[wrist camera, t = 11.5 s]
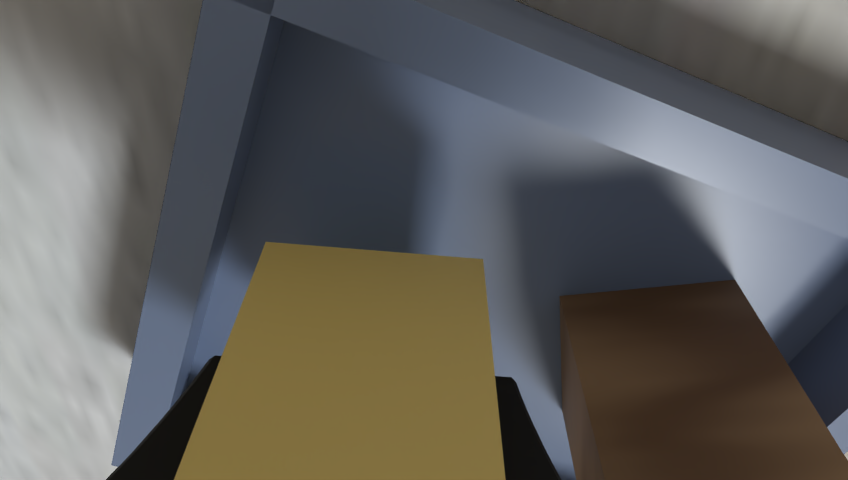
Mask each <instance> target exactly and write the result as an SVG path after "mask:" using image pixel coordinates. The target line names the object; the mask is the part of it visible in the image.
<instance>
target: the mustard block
mask: <svg viewBox="0 0 848 480" xmlns="http://www.w3.org/2000/svg"><path fill="white" fill-rule="evenodd" d="M174 480H506V479H505V469H504V459H503V450H502V440H501V430H500V420H499V410H498V401H497V391H496V381H495V371H494V361H493V352H492V342H491V332H490V322H489V312H488V302H487V293H486V283H485V273H484V263H483V259H476V258H463V257H451V256H438V255H426V254H413V253H401V252H388V251H375V250H363V249H350V248H338V247H325V246H313V245H300V244H288V243H275V242H265V245H264V248H263V250H262V253H261V255H260V258H259V261H258V263H257V266H256V268H255V271H254V273H253V276H252V279H251V281H250V284H249V286H248V289H247V292H246V294H245V297H244V299H243V302H242V305H241V307H240V310H239V312H238V315H237V318H236V320H235V323H234V325H233V328H232V330H231V333H230V336H229V338H228V341H227V343H226V346H225V349H224V351H223V354H222V356H221V359H220V362H219V364H218V367H217V369H216V372H215V375H214V377H213V380H212V382H211V385H210V387H209V390H208V393H207V395H206V398H205V400H204V403H203V406H202V408H201V411H200V413H199V416H198V419H197V421H196V424H195V426H194V429H193V432H192V434H191V437H190V439H189V442H188V444H187V447H186V450H185V452H184V455H183V457H182V460H181V463H180V465H179V468H178V470H177V473H176V476H175V478H174Z"/></svg>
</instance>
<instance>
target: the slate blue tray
mask: <svg viewBox="0 0 848 480" xmlns="http://www.w3.org/2000/svg"><path fill="white" fill-rule="evenodd" d="M265 242H275V243H288V244H300V245H313V246H325V247H338V248H350V249H363V250H375V251H388V252H401V253H413V254H426V255H438V256H451V257H463V258H476V259H483V263H484V273H485V283H486V293H487V302H488V312H489V322H490V332H491V342H492V352H493V361H494V371H495V376H502V377H512V378H513V379H514V380H515V382H516V383H517V386H518V388H519V391H520V394H521V396H522V399H523V401H524V404H525V406H526V408H527V411H528V413H529V415H530V418H531V420H532V422H533V424H534V426H535V429H536V431H537V433H538V435H539V437H540V439H541V441H542V443H543V445H544V447H545V449H546V451H547V453H548V455H549V457H550V459H551V461H552V463H553V465H554V467H555V469H556V471H557V472H558V474H559V476H560V478H561V480H576V476H575V471H574V466H573V461H572V456H571V452H570V447H569V442H568V437H567V432H566V427H565V422H564V418H563V413H562V381H561V338H560V296H564V295H575V294H586V293H596V292H607V291H618V290H629V289H639V288H650V287H661V286H672V285H682V284H693V283H704V282H715V281H725V280H736V282H737V283H738V285H739V287H740V288H741V290H742V292H743V293H744V295H745V296H746V298H747V300H748V301H749V303H750V304H751V306H752V308H753V309H754V311H755V312H756V314H757V316H758V317H759V319H760V320H761V322H762V324H763V325H764V327H765V329H766V330H767V332H768V333H769V335H770V337H771V338H772V340H773V341H774V343H775V345H776V346H777V348H778V349H779V351H780V353H781V354H782V356H783V357H784V359H785V361H786V362H787V364H788V365H789V367H790V369H791V370H792V372H793V374H794V375H795V377H796V378H797V380H798V382H799V383H800V385H801V386H802V388H803V390H804V391H805V393H806V394H807V396H808V398H809V399H810V401H811V402H812V404H813V406H814V407H815V409H816V411H817V412H818V414H819V415H820V417H821V419H822V420H823V422H824V423H825V425H826V427H827V428H828V430H829V431H830V433H831V435H832V436H833V438H834V439H835V441H836V443H837V444H838V446H839V448H840V449H841V451H842V452H843V454H845V453H846V452H847V451H848V141H845V140H843V139H841V138H838V137H836V136H834V135H831V134H829V133H826V132H824V131H822V130H819V129H817V128H815V127H812V126H810V125H808V124H805V123H803V122H800V121H798V120H796V119H793V118H791V117H789V116H786V115H784V114H782V113H779V112H777V111H775V110H772V109H770V108H767V107H765V106H763V105H760V104H758V103H756V102H753V101H751V100H749V99H746V98H744V97H741V96H739V95H737V94H734V93H732V92H730V91H727V90H725V89H723V88H720V87H718V86H715V85H713V84H711V83H708V82H706V81H704V80H701V79H699V78H697V77H694V76H692V75H689V74H687V73H685V72H682V71H680V70H678V69H675V68H673V67H671V66H668V65H666V64H663V63H661V62H659V61H656V60H654V59H652V58H649V57H647V56H645V55H642V54H640V53H638V52H635V51H633V50H630V49H628V48H626V47H623V46H621V45H619V44H616V43H614V42H612V41H609V40H607V39H604V38H602V37H600V36H597V35H595V34H593V33H590V32H588V31H586V30H583V29H581V28H578V27H576V26H574V25H571V24H569V23H567V22H564V21H562V20H560V19H557V18H555V17H552V16H550V15H548V14H545V13H543V12H541V11H538V10H536V9H534V8H531V7H529V6H527V5H524V4H522V3H519V2H517V1H515V0H203V2H202V7H201V12H200V17H199V22H198V28H197V33H196V38H195V43H194V48H193V53H192V58H191V63H190V68H189V73H188V78H187V84H186V89H185V94H184V99H183V104H182V109H181V114H180V119H179V124H178V129H177V134H176V140H175V145H174V150H173V155H172V160H171V165H170V170H169V175H168V180H167V185H166V190H165V195H164V201H163V206H162V211H161V216H160V221H159V226H158V231H157V236H156V241H155V246H154V251H153V257H152V262H151V267H150V272H149V277H148V282H147V287H146V292H145V297H144V302H143V307H142V313H141V318H140V323H139V328H138V333H137V338H136V343H135V348H134V353H133V358H132V363H131V369H130V374H129V379H128V384H127V389H126V394H125V399H124V404H123V409H122V414H121V419H120V424H119V430H118V435H117V440H116V445H115V450H114V455H113V460H112V465H113V466H118V467H119V466H120V465H121V464H122V463H123V461H124V460H125V459H126V458H127V457H128V456H129V455H130V454H131V453H132V452H133V451H134V450H135V448H136V447H137V446H138V445H139V444H140V443H141V442H142V441H143V439H144V438H145V437H146V436H147V435H148V434H149V433H150V431H151V430H152V429H153V428H154V427H155V426H156V425H157V423H158V422H159V421H160V420H161V419H162V418H163V417H164V415H165V414H166V413H167V412H168V411H169V409H170V408H171V407H172V406H173V405H174V403H175V402H176V401H177V400H178V399H179V397H180V396H181V395H182V394H183V392H184V391H185V390H186V389H187V387H188V386H189V385H190V384H191V382H192V381H193V380H194V378H195V377H196V376H197V375H198V373H199V372H200V371H201V369H202V368H203V367H204V365H205V364H206V363H207V361H208V360H209V359H211V358H212V357H213V356H215V355H216V356H222V354H223V351H224V349H225V346H226V343H227V341H228V338H229V336H230V333H231V330H232V328H233V325H234V323H235V320H236V318H237V315H238V312H239V310H240V307H241V305H242V302H243V299H244V297H245V294H246V292H247V289H248V286H249V284H250V281H251V279H252V276H253V273H254V271H255V268H256V266H257V263H258V261H259V258H260V255H261V253H262V250H263V248H264V245H265Z"/></svg>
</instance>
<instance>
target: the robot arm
mask: <svg viewBox="0 0 848 480" xmlns="http://www.w3.org/2000/svg"><path fill="white" fill-rule="evenodd" d="M220 359H221V356H216V355H215V356H213V357H212V358H211V359H209V360H208V361H207V363H206V364H205V365H204V367H203V368H202V369H201V371H200V372H199V373H198V375H197V376H196V377H195V378H194V380H193V381H192V382H191V384H190V385H189V386H188V387H187V389H186V390H185V391H184V392H183V394H182V395H181V396H180V397H179V399H178V400H177V401H176V402H175V403H174V405H173V406H172V407H171V408H170V409H169V411H168V412H167V413H166V414H165V415H164V417H163V418H162V419H161V420H160V421H159V422H158V423H157V425H156V426H155V427H154V428H153V429H152V430H151V431H150V433H149V434H148V435H147V436H146V437H145V438H144V439H143V441H142V442H141V443H140V444H139V445H138V446H137V447H136V448H135V450H134V451H133V452H132V453H131V454H130V455H129V456H128V457H127V458H126V459H125V460H124V461H123V463H122V464H121V465H120V466H119V467H118V468H117V469H116V470H115V471H114V472H113V473H112V474H111V475H110V476H109V477H108V478H107V479H106V480H174V478H175V476H176V473H177V470H178V468H179V465H180V463H181V460H182V457H183V455H184V452H185V450H186V447H187V444H188V442H189V439H190V437H191V434H192V432H193V429H194V426H195V424H196V421H197V419H198V416H199V413H200V411H201V408H202V406H203V403H204V400H205V398H206V395H207V393H208V390H209V387H210V385H211V382H212V380H213V377H214V375H215V372H216V369H217V367H218V364H219V362H220ZM495 381H496V391H497V401H498V410H499V420H500V430H501V440H502V450H503V459H504V469H505V479H506V480H561V478H560V476H559V474H558V472H557V471H556V469H555V467H554V465H553V463H552V461H551V459H550V457H549V455H548V453H547V451H546V449H545V447H544V445H543V443H542V441H541V439H540V437H539V435H538V433H537V431H536V429H535V426H534V424H533V422H532V420H531V418H530V415H529V413H528V411H527V408H526V406H525V404H524V401H523V399H522V396H521V394H520V391H519V388H518V386H517V383H516V382H515V380H514V379H513V378H512V377H502V376H495Z"/></svg>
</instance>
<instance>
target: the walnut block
mask: <svg viewBox="0 0 848 480" xmlns="http://www.w3.org/2000/svg"><path fill="white" fill-rule="evenodd" d="M560 338H561V381H562V413H563V418H564V422H565V427H566V432H567V437H568V442H569V447H570V452H571V456H572V461H573V466H574V471H575V476H576V480H848V460H847V459H846V457H845V456H844V454H843V452H842V451H841V449H840V448H839V446H838V444H837V443H836V441H835V439H834V438H833V436H832V435H831V433H830V431H829V430H828V428H827V427H826V425H825V423H824V422H823V420H822V419H821V417H820V415H819V414H818V412H817V411H816V409H815V407H814V406H813V404H812V402H811V401H810V399H809V398H808V396H807V394H806V393H805V391H804V390H803V388H802V386H801V385H800V383H799V382H798V380H797V378H796V377H795V375H794V374H793V372H792V370H791V369H790V367H789V365H788V364H787V362H786V361H785V359H784V357H783V356H782V354H781V353H780V351H779V349H778V348H777V346H776V345H775V343H774V341H773V340H772V338H771V337H770V335H769V333H768V332H767V330H766V329H765V327H764V325H763V324H762V322H761V320H760V319H759V317H758V316H757V314H756V312H755V311H754V309H753V308H752V306H751V304H750V303H749V301H748V300H747V298H746V296H745V295H744V293H743V292H742V290H741V288H740V287H739V285H738V283H737V282H736V280H725V281H715V282H704V283H693V284H682V285H672V286H661V287H650V288H639V289H629V290H618V291H607V292H596V293H586V294H575V295H564V296H560Z"/></svg>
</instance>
